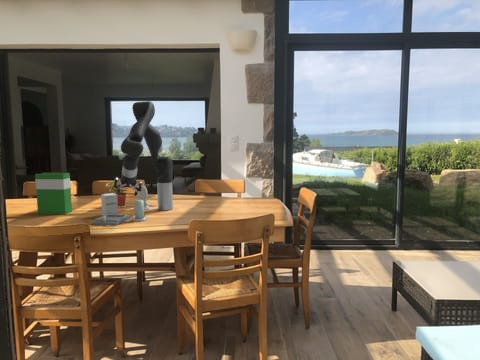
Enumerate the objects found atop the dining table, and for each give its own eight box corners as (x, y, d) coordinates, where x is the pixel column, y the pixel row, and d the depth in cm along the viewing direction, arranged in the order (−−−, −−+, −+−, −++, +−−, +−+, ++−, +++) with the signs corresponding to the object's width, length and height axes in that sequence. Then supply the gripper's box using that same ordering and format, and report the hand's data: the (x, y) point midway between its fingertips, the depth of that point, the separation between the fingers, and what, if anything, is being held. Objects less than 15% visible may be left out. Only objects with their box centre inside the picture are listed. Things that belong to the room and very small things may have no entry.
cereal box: (37, 213, 241) (35, 174, 238) (45, 211, 248) (42, 172, 245) (65, 214, 239) (63, 174, 236) (72, 211, 247) (69, 173, 243)
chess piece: (138, 207, 259) (138, 184, 257) (152, 207, 257) (151, 184, 255) (130, 210, 250) (129, 186, 248) (145, 211, 247) (144, 187, 245)
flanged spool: (136, 218, 229) (135, 199, 227) (149, 218, 227) (148, 199, 226) (129, 221, 221) (129, 201, 219) (143, 221, 219) (142, 202, 218)
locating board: (108, 217, 231) (108, 209, 230) (131, 218, 228) (131, 210, 227) (91, 224, 213) (91, 216, 213) (115, 225, 211) (115, 217, 210)
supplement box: (105, 217, 231) (104, 195, 229) (101, 215, 237) (100, 194, 235) (118, 215, 235) (117, 194, 233) (114, 213, 241) (113, 192, 239)
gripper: (144, 169, 211) (141, 191, 221) (116, 165, 207) (114, 187, 218) (142, 179, 205) (139, 200, 216) (114, 175, 202) (112, 197, 213)
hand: (127, 193), depth 217 cm, fingers open, 8 cm apart
